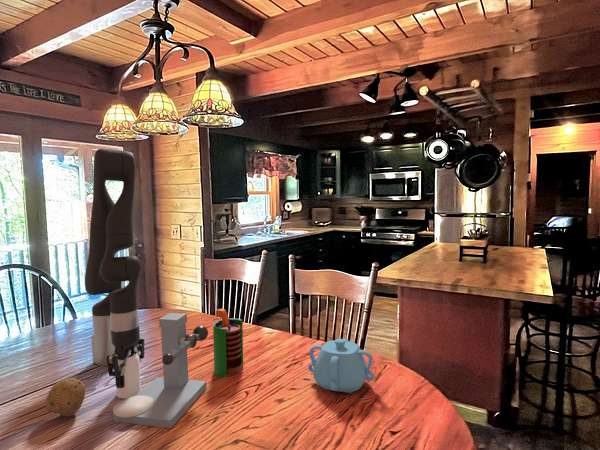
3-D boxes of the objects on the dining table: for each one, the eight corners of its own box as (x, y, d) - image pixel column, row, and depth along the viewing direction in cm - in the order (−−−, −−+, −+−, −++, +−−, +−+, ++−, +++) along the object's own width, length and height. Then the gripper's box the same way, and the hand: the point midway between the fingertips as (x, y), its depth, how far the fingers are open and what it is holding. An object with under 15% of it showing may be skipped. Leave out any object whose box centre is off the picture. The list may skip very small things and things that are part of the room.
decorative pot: (353, 368, 126) (352, 327, 125) (378, 391, 111) (378, 345, 110) (306, 377, 121) (305, 334, 120) (326, 403, 106) (325, 354, 105)
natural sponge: (46, 430, 96) (43, 392, 95) (47, 413, 103) (44, 377, 103) (88, 418, 101) (85, 381, 100) (85, 403, 108) (83, 368, 107)
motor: (235, 378, 121) (233, 316, 119) (209, 376, 123) (206, 314, 121) (246, 364, 131) (244, 306, 129) (221, 362, 132) (219, 305, 131)
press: (104, 422, 99) (98, 337, 97) (152, 382, 119) (148, 311, 117) (168, 430, 95) (164, 342, 93) (206, 387, 115) (203, 314, 113)
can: (121, 388, 116) (119, 349, 115) (144, 387, 116) (141, 348, 115) (113, 400, 109) (110, 359, 108) (136, 398, 110) (134, 358, 109)
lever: (157, 369, 98) (156, 352, 97) (197, 337, 119) (196, 323, 118) (173, 370, 97) (172, 353, 96) (210, 338, 118) (210, 323, 117)
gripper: (129, 316, 119) (132, 369, 120) (95, 334, 105) (99, 393, 106) (151, 318, 117) (154, 371, 119) (120, 335, 103) (123, 395, 105)
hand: (128, 381), depth 112 cm, fingers open, 6 cm apart
